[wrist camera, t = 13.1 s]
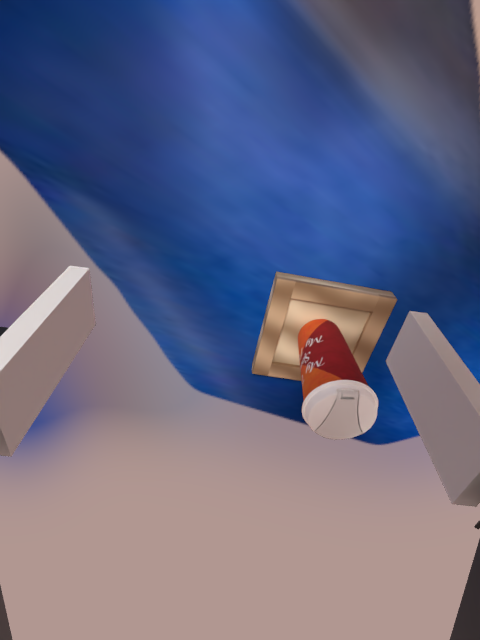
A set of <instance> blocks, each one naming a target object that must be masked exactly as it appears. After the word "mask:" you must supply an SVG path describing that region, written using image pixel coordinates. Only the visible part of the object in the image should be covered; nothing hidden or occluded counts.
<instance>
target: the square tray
mask: <svg viewBox="0 0 480 640" xmlns="http://www.w3.org/2000/svg"><path fill="white" fill-rule="evenodd" d="M396 301H397V298H396V297H395V296H394V294H393V293H392V292H390V291H384V290H378V289H372V288H367V287H361V286H355V285H350V284H344V283H338V282H332V281H327V280H321V279H315V278H310V277H304V276H298V275H293V274H287V273H281V272H276V274H275V278H274V282H273V286H272V289H271V293H270V297H269V301H268V305H267V309H266V313H265V317H264V320H263V324H262V328H261V332H260V336H259V340H258V344H257V347H256V351H255V355H254V359H253V363H252V374H259V375H266V376H272V377H279V378H286V379H292V380H299V381H302V380H301V370H300V360H299V349H298V334H299V331H300V330H301V328H302V327H303V326H304V325H305V324H306V323H308V322H310V321H312V320H316V319H326V320H330V321H332V322H333V323H335V324H336V325H337V326H338V328H339V329H340V331H341V333H342V335H343V337H344V339H345V341H346V343H347V344H348V346H349V348H350V350H351V352H352V354H353V356H354V358H355V360H356V362H357V364H358V366H359V368H360V370H361V372H363V370H364V368H365V366H366V364H367V362H368V360H369V357H370V355H371V353H372V351H373V349H374V347H375V345H376V343H377V341H378V339H379V337H380V335H381V333H382V330H383V328H384V326H385V324H386V322H387V320H388V318H389V316H390V314H391V312H392V310H393V308H394V306H395V303H396Z"/></svg>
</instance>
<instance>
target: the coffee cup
mask: <svg viewBox="0 0 480 640" xmlns="http://www.w3.org/2000/svg"><path fill="white" fill-rule="evenodd" d="M298 349H299V360H300V370H301V380H302V389H303V399H304V402H303V405H302V416H303V418H304V420H305V421H306V423H307V424H308V425H309V426H310V428H311V429H312V430H313V431H314V432H315V433H317V434H318V435H320V436H322V437H324V438H328V439H335V440H340V439H341V440H343V439H349V438H353V437H356V436H358V435H361V434H363V433H365V432H366V431H367V430H369V429H370V428H371V427H372V425H373V424H374V422H375V420H376V417H377V409H378V398H377V396H376V394H375V392H374V391H373V390H372V389H371V388H370V387H369V386H368V385H367V383H366V380H365V378H364V376H363V374H362V372H361V370H360V368H359V366H358V364H357V362H356V360H355V358H354V356H353V354H352V352H351V350H350V348H349V346H348V344H347V343H346V341H345V339H344V337H343V335H342V333H341V331H340V329H339V328H338V326H337V325H336V324H335V323H333V322H332V321H330V320H326V319H316V320H312V321H310V322H308V323H306V324H305V325H304V326H303V327H302V328H301V330H300V331H299V334H298Z"/></svg>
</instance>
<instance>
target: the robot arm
mask: <svg viewBox="0 0 480 640" xmlns="http://www.w3.org/2000/svg"><path fill="white" fill-rule="evenodd" d="M95 325H96V322H95V313H94V304H93V295H92V286H91V278H90V269H89V268H83V267H76V266H69V267H68V268H67V269H66V270H65V271H64V272H63V274H61V275H60V277H58V278H57V279H56V280H55V282H53V284H51V286H50V287H49V288H48V289H47V290H46V291H45V292H44V293H43V294H42V295H41V296H40V297H39V298H38V299H37V300H36V301H35V302H34V303H33V304H32V305H31V306H30V307H29V308H28V309H27V310H26V311H25V312H24V313H23V314H22V315H21V316H20V317H19V318H18V319H17V320H16V321H15V322H14V323H13V324H12V325H11V326H10V327H9V328H6V327H0V455H1V456H12V455H13V453H14V451H15V450H16V448H17V446H18V445H19V444H20V442H21V440H22V439H23V437H24V436H25V434H26V433H27V431H28V430H29V428H30V426H31V425H32V423H33V422H34V420H35V419H36V417H37V416H38V414H39V412H40V411H41V409H42V408H43V406H44V405H45V403H46V402H47V400H48V398H49V397H50V395H51V393H52V392H53V391H54V389H55V388H56V386H57V384H58V383H59V381H60V380H61V378H62V377H63V375H64V373H65V372H66V370H67V369H68V367H69V366H70V364H71V363H72V361H73V359H74V358H75V356H76V355H77V353H78V352H79V350H80V349H81V347H82V345H83V344H84V342H85V341H86V339H87V338H88V336H89V335H90V333H91V331H92V330H93V328H94V327H95ZM386 363H387V365H388V367H389V370H390V372H391V374H392V376H393V378H394V380H395V382H396V385H397V387H398V389H399V391H400V393H401V395H402V397H403V400H404V402H405V404H406V406H407V408H408V410H409V413H410V415H411V417H412V419H413V421H414V423H415V425H416V428H417V430H418V432H419V434H420V436H421V438H422V440H423V443H424V445H425V447H426V449H427V451H428V453H429V456H430V458H431V460H432V462H433V464H434V466H435V468H436V471H437V473H438V475H439V477H440V479H441V481H442V484H443V486H444V488H445V490H446V492H447V494H448V497H449V499H450V501H451V503H452V504H457V505H466V506H475V507H476V506H477V505H478V504H479V503H480V384H479V383H478V381H477V380H476V379H475V377H474V376H473V375H472V373H471V372H470V371H469V369H468V368H467V366H466V365H465V364H464V362H463V361H462V360H461V358H460V357H459V356H458V354H457V353H456V352H455V350H454V349H453V347H452V346H451V345H450V343H449V342H448V341H447V339H446V338H445V337H444V335H443V334H442V333H441V331H440V330H439V328H438V327H437V326H436V324H435V323H434V322H433V320H432V319H431V318H430V316H429V315H428V313H421V312H414V311H409V313H408V315H407V317H406V319H405V321H404V324H403V326H402V328H401V330H400V332H399V334H398V336H397V338H396V340H395V342H394V345H393V347H392V349H391V351H390V353H389V355H388V357H387V359H386ZM475 528H477V529H479V528H480V521H479V522H478V523H477V524H476V525H475ZM0 640H12V636H11V631H10V627H9V622H8V618H7V613H6V609H5V604H4V600H3V595H2V591H1V586H0ZM450 640H480V540H479V543H478V547H477V550H476V553H475V557H474V560H473V563H472V567H471V570H470V573H469V577H468V580H467V584H466V587H465V590H464V594H463V597H462V601H461V604H460V607H459V611H458V614H457V617H456V621H455V624H454V628H453V631H452V634H451V637H450Z"/></svg>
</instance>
